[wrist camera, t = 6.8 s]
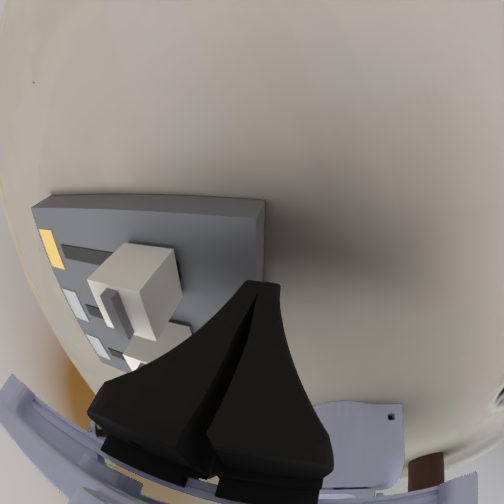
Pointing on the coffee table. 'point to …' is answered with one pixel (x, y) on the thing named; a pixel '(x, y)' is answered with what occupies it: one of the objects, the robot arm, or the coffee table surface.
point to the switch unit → (159, 235)
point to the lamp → (426, 472)
